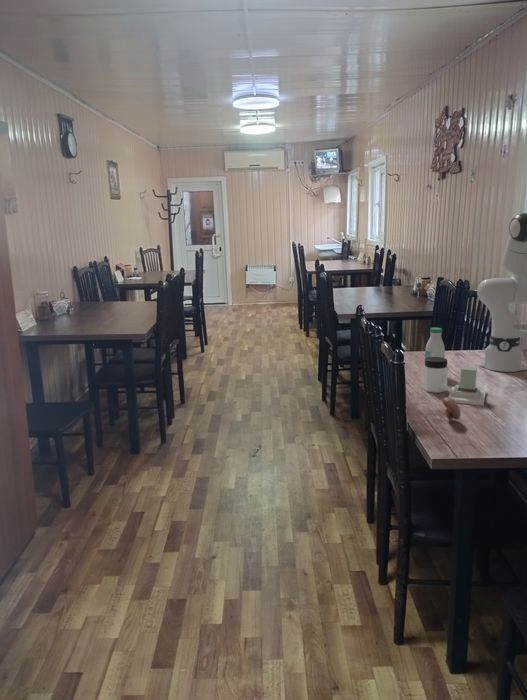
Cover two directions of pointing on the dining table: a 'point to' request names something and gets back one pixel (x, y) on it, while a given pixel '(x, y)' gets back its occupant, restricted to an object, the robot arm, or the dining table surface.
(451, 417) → the mushroom
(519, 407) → the dining table surface
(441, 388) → the jar
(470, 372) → the plug
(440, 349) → the milk bottle
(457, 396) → the socket
